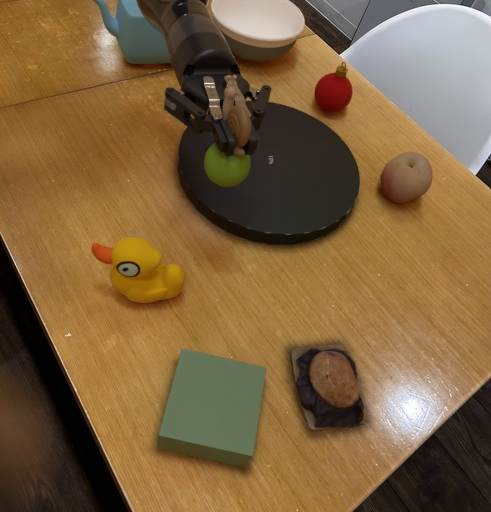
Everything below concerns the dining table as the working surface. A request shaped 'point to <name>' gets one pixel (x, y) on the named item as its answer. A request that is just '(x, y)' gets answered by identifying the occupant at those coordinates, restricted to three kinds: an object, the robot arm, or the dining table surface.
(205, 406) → the green block
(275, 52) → the bowl
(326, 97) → the christmas ornament
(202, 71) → the robot arm
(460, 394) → the dining table surface
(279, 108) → the disc
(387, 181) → the fruit
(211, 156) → the snail figurine
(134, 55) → the teapot
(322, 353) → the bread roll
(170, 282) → the duckling
